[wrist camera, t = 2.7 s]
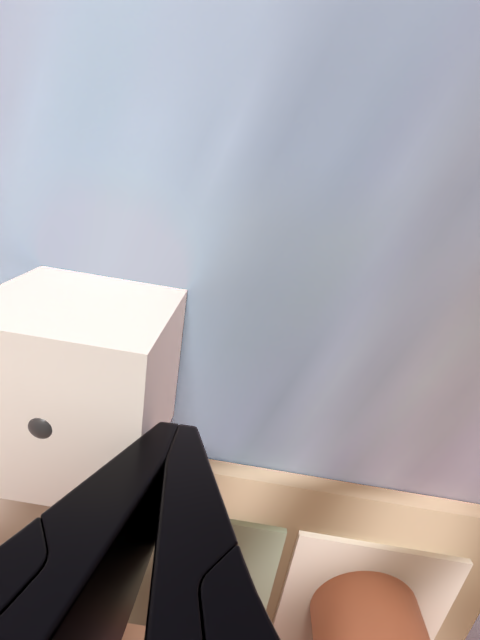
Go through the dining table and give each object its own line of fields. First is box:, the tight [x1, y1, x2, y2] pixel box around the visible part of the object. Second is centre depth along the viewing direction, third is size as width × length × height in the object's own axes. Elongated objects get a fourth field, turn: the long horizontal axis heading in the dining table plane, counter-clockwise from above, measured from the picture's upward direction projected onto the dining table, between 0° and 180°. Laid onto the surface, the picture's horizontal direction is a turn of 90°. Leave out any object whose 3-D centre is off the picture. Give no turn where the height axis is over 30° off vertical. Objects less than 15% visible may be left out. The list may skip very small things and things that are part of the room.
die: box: [0, 266, 187, 507], centre depth 10 cm, size 4×4×4 cm
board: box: [0, 459, 480, 640], centre depth 14 cm, size 26×9×1 cm, turn 81°
